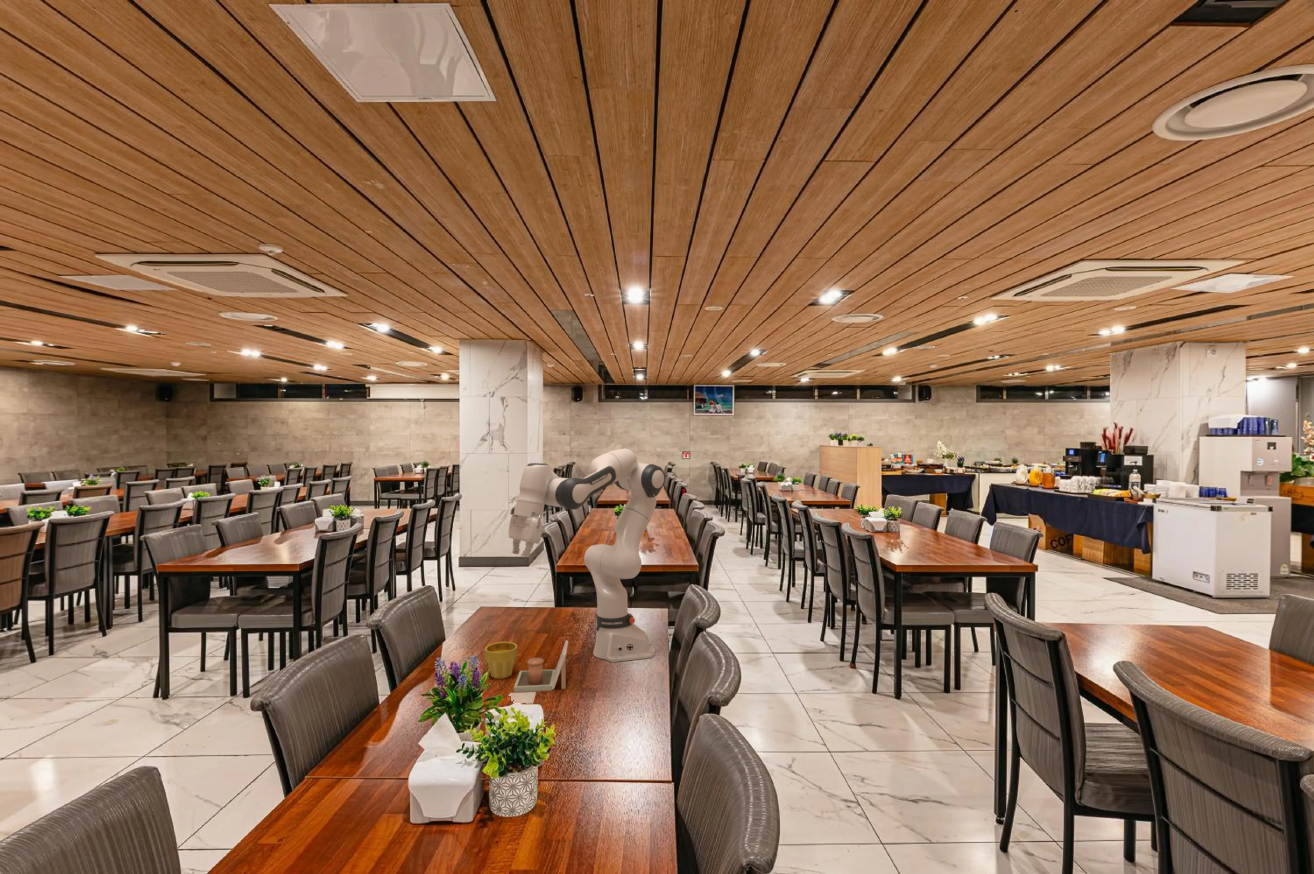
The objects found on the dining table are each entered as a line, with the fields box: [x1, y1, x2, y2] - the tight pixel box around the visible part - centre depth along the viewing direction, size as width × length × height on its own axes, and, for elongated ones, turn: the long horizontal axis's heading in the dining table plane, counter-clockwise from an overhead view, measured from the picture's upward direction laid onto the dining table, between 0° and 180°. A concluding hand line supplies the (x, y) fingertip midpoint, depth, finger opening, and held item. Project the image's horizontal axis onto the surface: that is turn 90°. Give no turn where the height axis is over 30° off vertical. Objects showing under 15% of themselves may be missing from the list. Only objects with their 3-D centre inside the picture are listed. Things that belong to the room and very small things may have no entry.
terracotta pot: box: [527, 657, 544, 685], centre depth 194 cm, size 5×5×7 cm
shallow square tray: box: [513, 668, 556, 693], centre depth 194 cm, size 12×14×2 cm
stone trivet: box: [507, 691, 537, 705], centre depth 181 cm, size 8×8×1 cm
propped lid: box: [552, 640, 569, 690], centre depth 194 cm, size 4×14×12 cm, turn 5°
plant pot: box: [484, 641, 518, 680], centre depth 201 cm, size 10×10×10 cm
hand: (520, 555), depth 192 cm, fingers open, 8 cm apart
